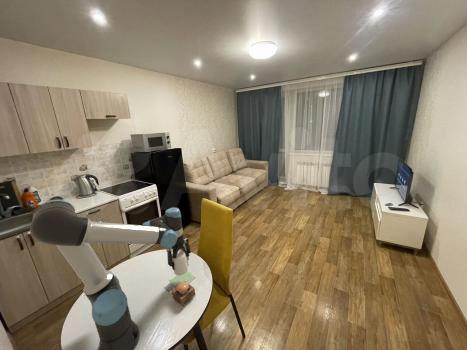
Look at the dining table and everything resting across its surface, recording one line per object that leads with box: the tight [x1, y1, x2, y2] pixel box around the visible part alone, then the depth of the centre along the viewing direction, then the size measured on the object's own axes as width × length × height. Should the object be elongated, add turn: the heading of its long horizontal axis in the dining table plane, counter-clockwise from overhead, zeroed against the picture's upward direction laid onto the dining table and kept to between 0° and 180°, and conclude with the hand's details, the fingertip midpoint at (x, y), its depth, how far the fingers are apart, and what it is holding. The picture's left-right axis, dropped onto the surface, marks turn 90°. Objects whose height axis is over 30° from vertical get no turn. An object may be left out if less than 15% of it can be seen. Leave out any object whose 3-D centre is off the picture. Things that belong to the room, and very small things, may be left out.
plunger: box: [176, 282, 190, 296], centre depth 103 cm, size 6×6×6 cm
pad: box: [169, 271, 197, 288], centre depth 115 cm, size 11×11×1 cm
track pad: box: [163, 282, 176, 293], centre depth 110 cm, size 4×4×1 cm
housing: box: [171, 281, 196, 307], centre depth 103 cm, size 8×8×4 cm
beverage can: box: [172, 249, 189, 276], centre depth 112 cm, size 8×8×12 cm
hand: (181, 269), depth 113 cm, fingers closed on beverage can, 7 cm apart
